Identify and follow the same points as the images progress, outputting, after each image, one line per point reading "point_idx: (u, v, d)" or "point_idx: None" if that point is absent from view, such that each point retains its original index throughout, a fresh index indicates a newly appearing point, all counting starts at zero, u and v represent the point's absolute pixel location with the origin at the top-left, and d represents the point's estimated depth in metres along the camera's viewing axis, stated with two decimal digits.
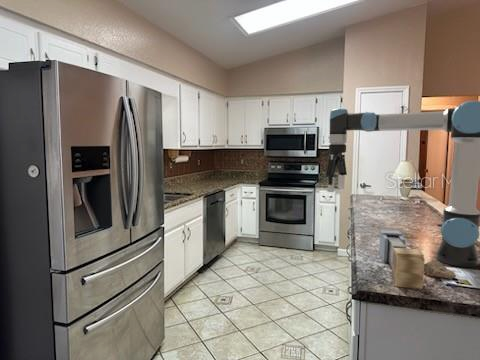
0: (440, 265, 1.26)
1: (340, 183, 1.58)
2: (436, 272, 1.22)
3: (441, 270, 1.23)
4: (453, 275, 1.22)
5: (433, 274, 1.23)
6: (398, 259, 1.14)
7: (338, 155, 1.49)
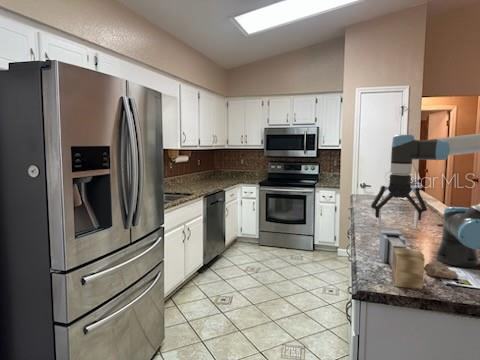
0: (442, 265, 1.26)
1: (414, 221, 1.32)
2: (438, 272, 1.21)
3: (443, 270, 1.23)
4: (455, 275, 1.21)
5: (435, 274, 1.22)
6: (398, 259, 1.14)
7: (396, 187, 1.31)
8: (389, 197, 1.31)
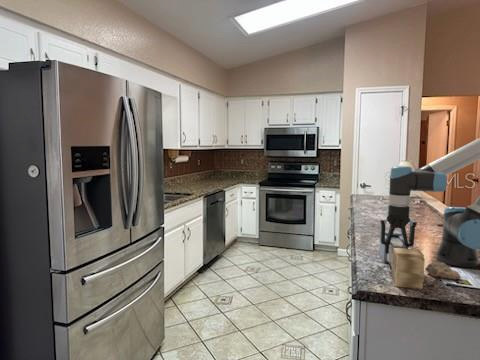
0: (445, 266, 1.25)
1: None
2: (440, 273, 1.21)
3: (445, 271, 1.23)
4: (457, 276, 1.21)
5: (437, 275, 1.22)
6: (398, 259, 1.14)
7: (393, 216, 1.32)
8: (392, 230, 1.32)
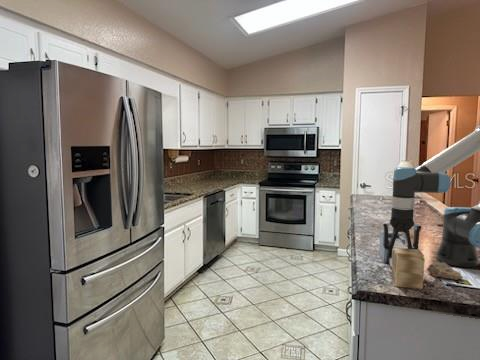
0: (446, 266, 1.25)
1: None
2: (441, 273, 1.21)
3: (447, 271, 1.23)
4: (459, 276, 1.21)
5: (438, 275, 1.22)
6: (398, 259, 1.14)
7: (397, 219, 1.26)
8: (395, 234, 1.26)
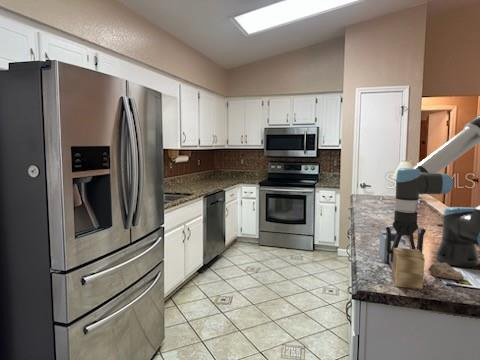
0: (448, 266, 1.25)
1: None
2: (443, 273, 1.21)
3: (448, 271, 1.22)
4: (461, 277, 1.20)
5: (440, 275, 1.22)
6: (398, 259, 1.14)
7: (400, 222, 1.21)
8: (398, 237, 1.22)
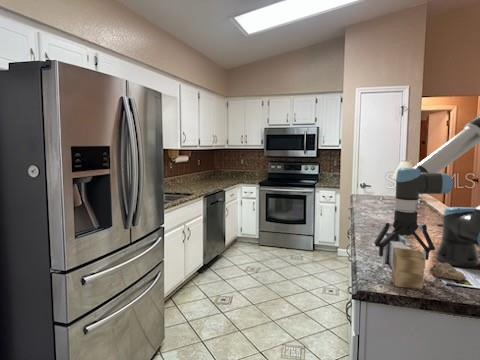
0: (450, 267, 1.25)
1: None
2: (444, 273, 1.20)
3: (450, 272, 1.22)
4: (462, 277, 1.20)
5: (441, 275, 1.21)
6: (398, 259, 1.14)
7: (401, 224, 1.21)
8: (394, 235, 1.22)
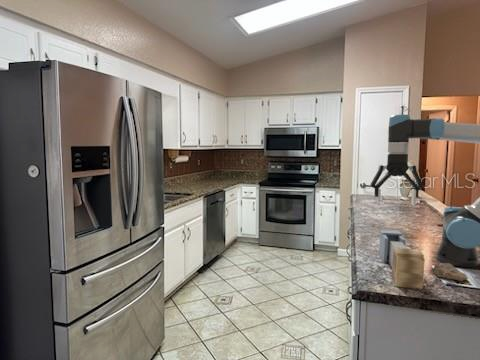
0: (452, 267, 1.24)
1: (412, 198, 1.36)
2: (446, 274, 1.20)
3: (452, 272, 1.22)
4: (464, 277, 1.20)
5: (443, 276, 1.21)
6: (398, 259, 1.14)
7: (394, 166, 1.35)
8: (388, 176, 1.35)
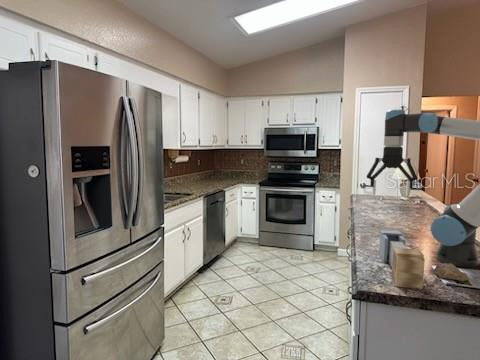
0: (454, 267, 1.24)
1: (406, 189, 1.44)
2: (448, 274, 1.20)
3: (454, 272, 1.21)
4: (466, 278, 1.19)
5: (445, 276, 1.21)
6: (398, 259, 1.14)
7: (389, 158, 1.42)
8: (383, 168, 1.43)
